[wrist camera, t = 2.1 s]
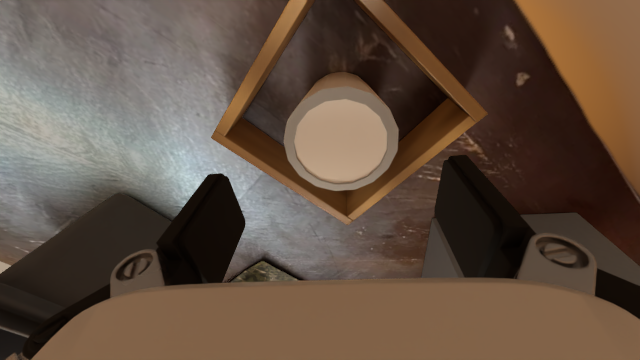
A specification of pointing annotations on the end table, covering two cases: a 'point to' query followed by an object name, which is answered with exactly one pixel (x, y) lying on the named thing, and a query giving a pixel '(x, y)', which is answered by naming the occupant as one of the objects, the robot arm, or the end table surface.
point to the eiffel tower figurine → (263, 274)
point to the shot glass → (341, 134)
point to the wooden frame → (412, 149)
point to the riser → (565, 224)
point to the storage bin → (72, 266)
